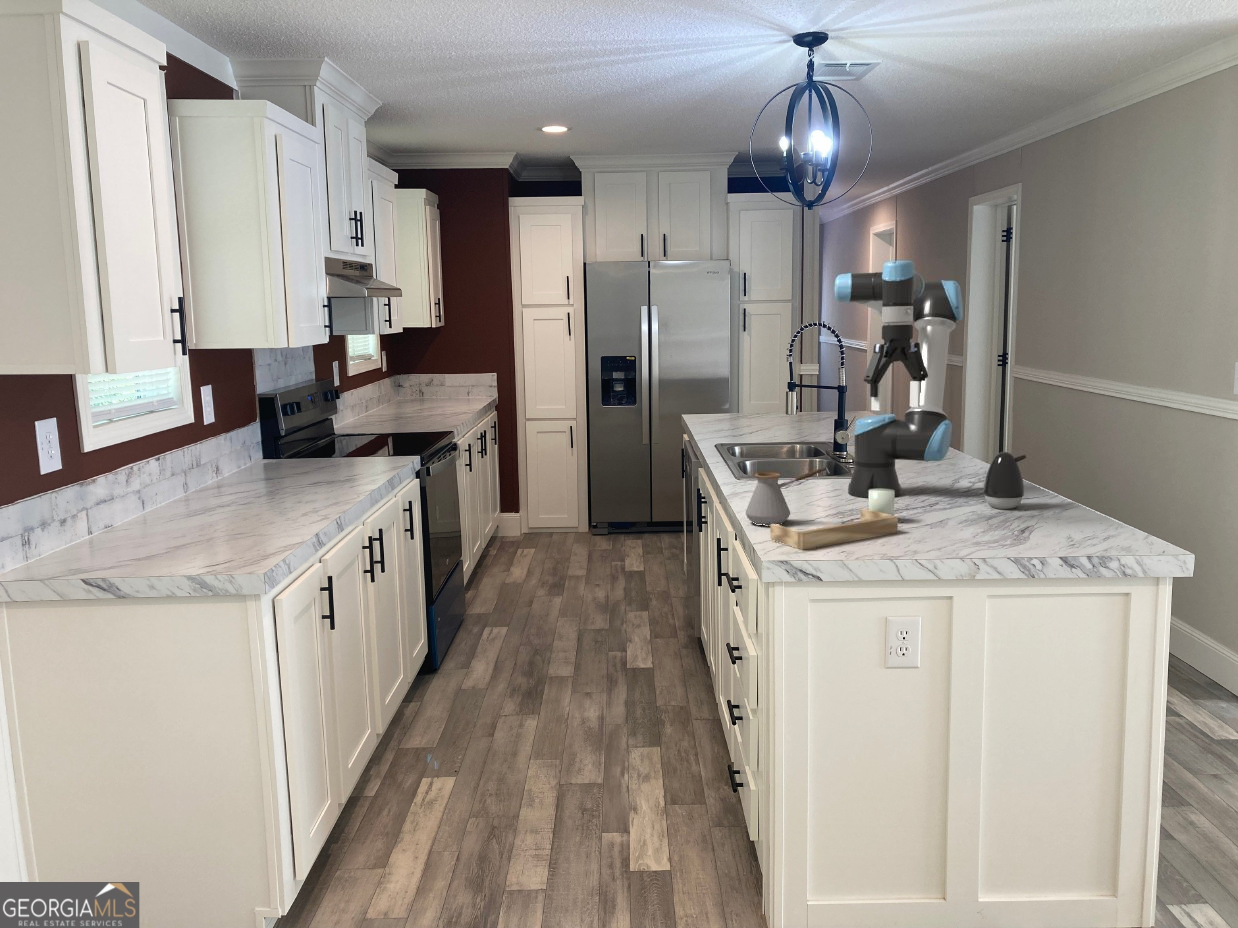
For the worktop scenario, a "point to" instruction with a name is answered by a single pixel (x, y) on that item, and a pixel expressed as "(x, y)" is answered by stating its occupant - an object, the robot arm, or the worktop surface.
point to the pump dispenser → (1004, 482)
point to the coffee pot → (771, 499)
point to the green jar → (881, 500)
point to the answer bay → (837, 531)
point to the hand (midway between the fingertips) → (895, 408)
